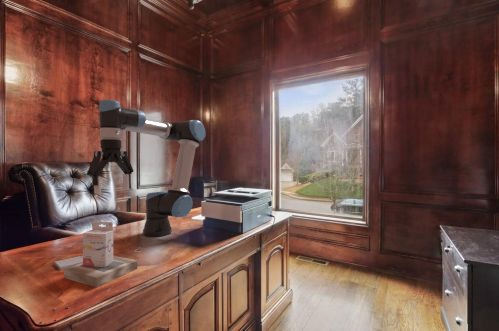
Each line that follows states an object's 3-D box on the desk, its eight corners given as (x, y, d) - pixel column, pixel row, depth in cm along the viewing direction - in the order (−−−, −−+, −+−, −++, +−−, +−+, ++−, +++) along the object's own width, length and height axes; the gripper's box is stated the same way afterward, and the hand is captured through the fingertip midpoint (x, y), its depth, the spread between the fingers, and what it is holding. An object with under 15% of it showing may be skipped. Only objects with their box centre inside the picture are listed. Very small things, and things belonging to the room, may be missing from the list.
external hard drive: (54, 265, 101) (90, 256, 111) (60, 271, 96) (97, 261, 105) (54, 261, 101) (90, 253, 111) (59, 266, 96) (97, 257, 105)
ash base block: (106, 262, 104) (106, 254, 104) (137, 268, 98) (137, 260, 98) (64, 278, 89) (64, 269, 89) (97, 287, 83) (97, 277, 83)
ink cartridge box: (81, 266, 91) (81, 224, 91) (91, 261, 96) (91, 221, 96) (105, 267, 91) (105, 224, 91) (114, 262, 96) (114, 221, 95)
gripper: (88, 137, 94) (91, 196, 95) (141, 140, 117) (142, 188, 118) (74, 137, 97) (76, 195, 97) (128, 140, 120) (129, 187, 121)
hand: (112, 191), depth 108 cm, fingers open, 13 cm apart
